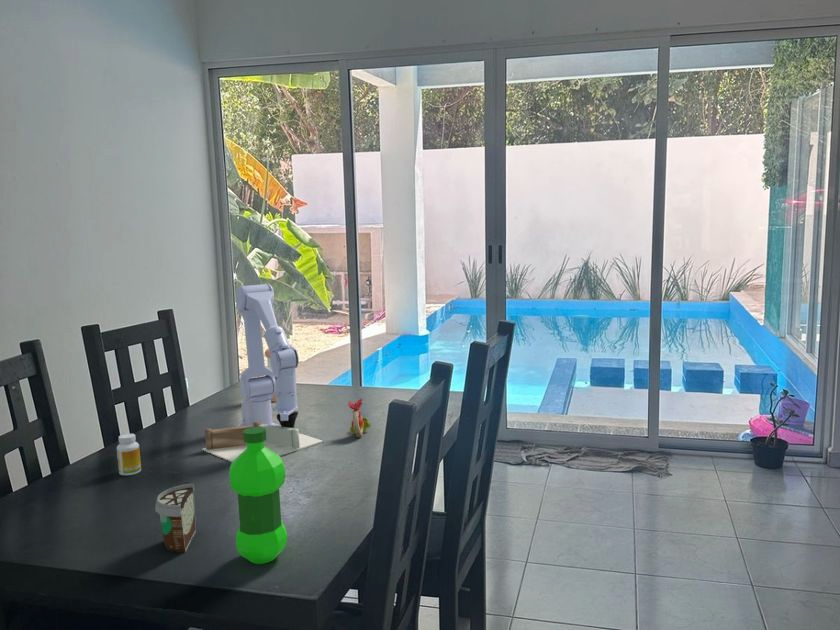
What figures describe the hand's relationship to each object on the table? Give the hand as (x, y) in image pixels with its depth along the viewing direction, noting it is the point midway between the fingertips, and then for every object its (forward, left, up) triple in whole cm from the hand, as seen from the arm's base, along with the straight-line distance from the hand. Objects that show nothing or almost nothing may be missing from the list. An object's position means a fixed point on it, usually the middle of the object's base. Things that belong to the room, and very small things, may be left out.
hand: (288, 438), depth 205 cm
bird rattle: (+9, +19, -2) cm, 21 cm away
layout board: (-5, -5, -2) cm, 7 cm away
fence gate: (0, -3, -1) cm, 3 cm away
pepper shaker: (-45, +28, -2) cm, 53 cm away
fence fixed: (-10, -11, -1) cm, 15 cm away
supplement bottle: (-14, -39, -2) cm, 42 cm away
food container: (+33, -51, -2) cm, 61 cm away
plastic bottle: (+52, -43, -2) cm, 68 cm away
